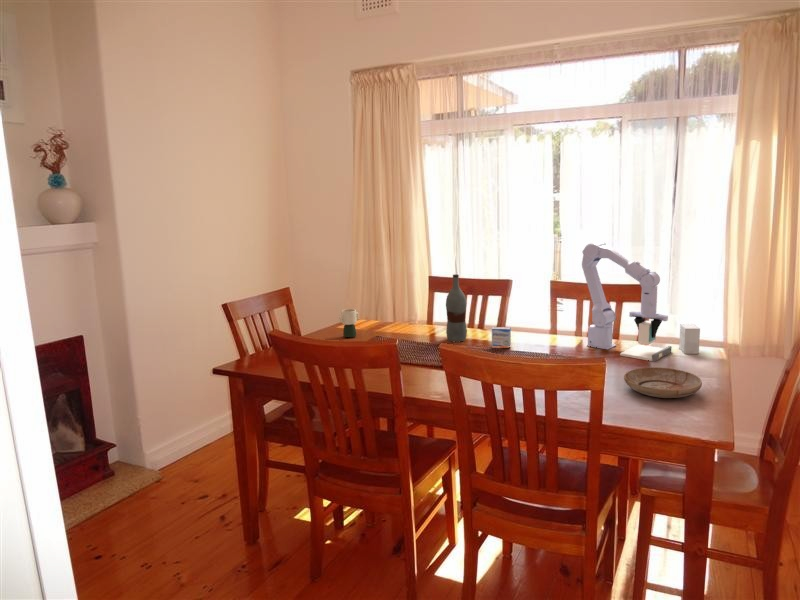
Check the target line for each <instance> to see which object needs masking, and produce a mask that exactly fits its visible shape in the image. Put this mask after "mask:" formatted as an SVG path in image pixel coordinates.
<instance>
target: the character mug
mask: <svg viewBox="0 0 800 600" xmlns="http://www.w3.org/2000/svg"><path fill="white" fill-rule="evenodd" d="M359 318H360V313H359V312H358V311H357V310H356V308H343V309H341V315H338V322H339V323H342V324H343V325H344V326H343V330H342V331H343V333H342V335H343V337H346V338H347V337H348V338H354V337H356V336H357V331H356V330H357V329H356V325H355V324H357V320H359Z"/></svg>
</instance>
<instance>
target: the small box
mask: <svg viewBox="0 0 800 600" xmlns="http://www.w3.org/2000/svg"><path fill="white" fill-rule="evenodd" d="M679 327H680V328H679V341H678V342H679V346H678V347H679V348H678V349H679V350H680V351H681V352H682V353H683V354H684V355H687V354H688V355H692V354H693V355H694V354H695V355H699V354H700V337H701V336H700V335H701V328H700V327H698V325H696V324H693V323H691V324H689V323H685V324H684V323H683V324H682V323H681V324H680V325H679Z"/></svg>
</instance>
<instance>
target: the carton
mask: <svg viewBox="0 0 800 600" xmlns="http://www.w3.org/2000/svg"><path fill="white" fill-rule="evenodd" d="M651 321H652V320H645V321H644V322H642V323H640V324H639V330H638V337H637V338H638V339H637V341H638V342H637V344H640V345H646V346H650V345H651V344H653V343H655V342H656V338H657V337H656V336H655V337H654V338H652V325H651Z"/></svg>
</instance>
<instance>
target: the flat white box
mask: <svg viewBox="0 0 800 600" xmlns="http://www.w3.org/2000/svg"><path fill="white" fill-rule="evenodd" d="M668 353H669V354H670V353H672V346H671V345H668V346H666V347H664V348H663V347H658V346H651V345H645V344H639V343H637V344H636V345H635V346H632V347H630V348H628V349H626V350H624V351H622V352H620V357H627V358H631V359H638V360H643V361H648V360H649V361H650V362H656V361H658V360H660V359H661V357H662V358H663V357H665V356H667V355H669V354H668ZM666 354H667V355H666ZM664 355H665V356H664ZM659 358H660V359H659ZM649 361H648V362H649Z"/></svg>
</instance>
